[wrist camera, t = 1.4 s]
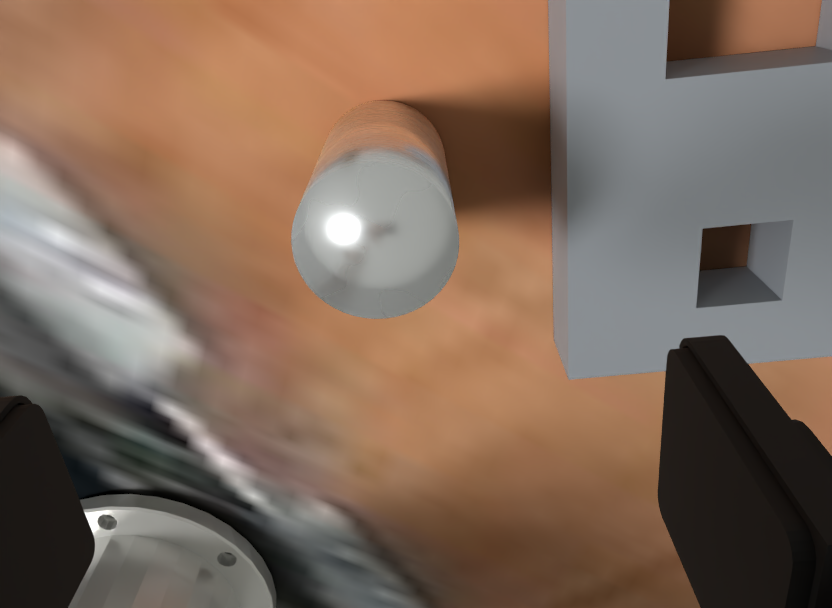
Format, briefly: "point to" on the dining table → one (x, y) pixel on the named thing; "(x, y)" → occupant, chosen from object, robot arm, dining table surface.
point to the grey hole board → (685, 191)
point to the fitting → (378, 214)
